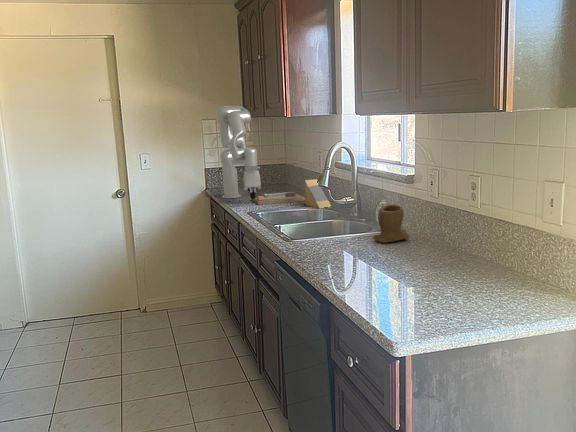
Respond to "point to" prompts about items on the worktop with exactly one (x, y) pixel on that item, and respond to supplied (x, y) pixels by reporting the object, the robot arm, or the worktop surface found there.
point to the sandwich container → (315, 195)
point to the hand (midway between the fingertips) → (253, 198)
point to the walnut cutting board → (278, 199)
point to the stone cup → (391, 224)
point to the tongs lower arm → (279, 196)
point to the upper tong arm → (279, 194)
